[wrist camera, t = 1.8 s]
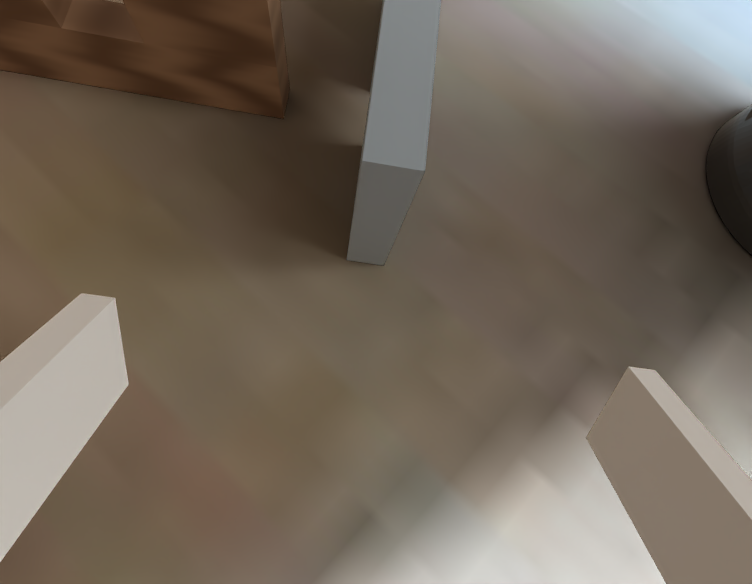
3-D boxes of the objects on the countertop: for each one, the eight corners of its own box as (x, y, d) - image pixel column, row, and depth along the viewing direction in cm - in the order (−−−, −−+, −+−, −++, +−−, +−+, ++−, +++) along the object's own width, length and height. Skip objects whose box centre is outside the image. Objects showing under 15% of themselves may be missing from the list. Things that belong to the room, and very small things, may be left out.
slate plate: (413, 6, 34) (459, -196, 23) (383, 265, 28) (425, 171, 17) (382, 0, 34) (413, -208, 22) (346, 259, 28) (362, 160, 17)
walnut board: (289, 89, 31) (274, -53, 21) (283, 118, 30) (265, -14, 21) (-4, 36, 29) (-166, -144, 20) (-17, 66, 28) (-191, -105, 19)
